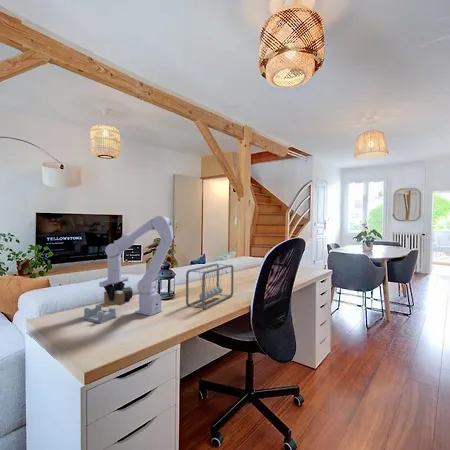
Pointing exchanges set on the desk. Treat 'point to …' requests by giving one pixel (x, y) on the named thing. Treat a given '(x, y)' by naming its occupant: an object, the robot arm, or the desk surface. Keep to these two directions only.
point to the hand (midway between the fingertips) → (114, 299)
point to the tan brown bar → (115, 298)
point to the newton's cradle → (213, 291)
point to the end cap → (127, 293)
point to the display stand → (99, 314)
